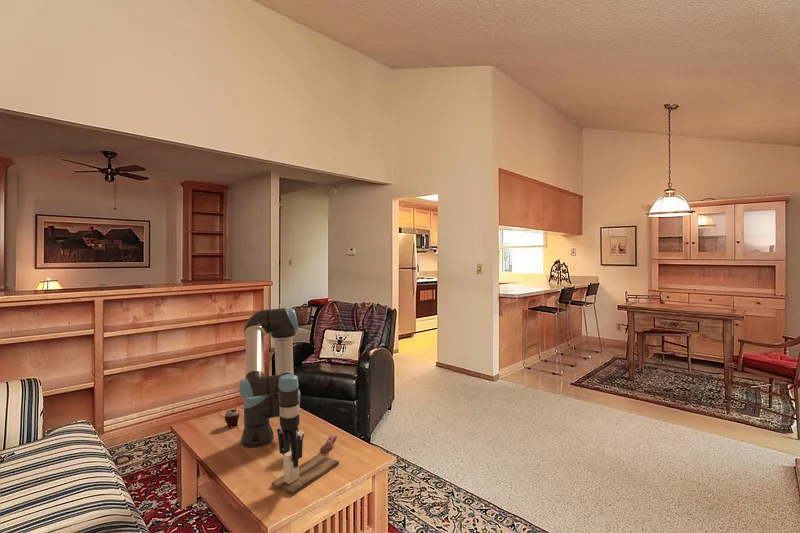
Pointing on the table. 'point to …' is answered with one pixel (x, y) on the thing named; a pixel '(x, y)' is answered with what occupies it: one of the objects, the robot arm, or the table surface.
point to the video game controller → (328, 443)
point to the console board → (307, 474)
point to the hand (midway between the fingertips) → (291, 473)
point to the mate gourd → (232, 416)
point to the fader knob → (289, 468)
